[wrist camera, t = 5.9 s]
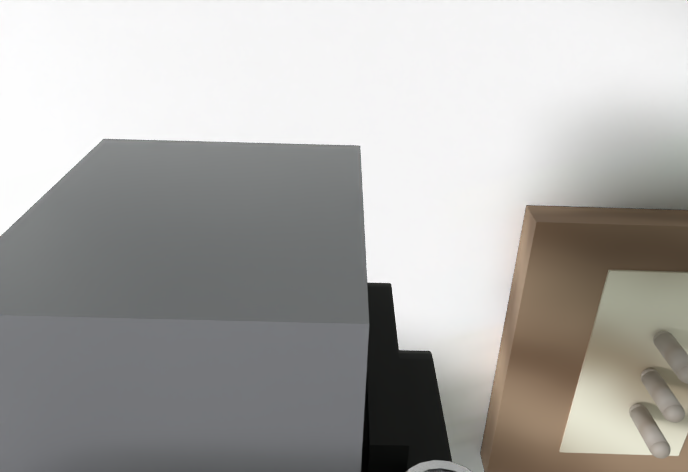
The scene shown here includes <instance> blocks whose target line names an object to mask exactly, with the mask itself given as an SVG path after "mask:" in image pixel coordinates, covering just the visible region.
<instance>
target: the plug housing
mask: <svg viewBox="0 0 688 472" xmlns="http://www.w3.org/2000/svg"><path fill="white" fill-rule="evenodd" d="M368 338H369V309H368V289H367V270H366V250H365V231H364V211H363V192H362V173H361V153H360V146H354V145H316V144H277V143H239V142H201V141H163V140H125V139H103V140H102V141H101V142H100V143H99V144H98V145H97V146H96V147H95V148H94V149H92V150H91V151H90V152H89V153H88V154H87V155H86V156H85V157H84V158H83V159H82V160H81V161H80V162H79V163H78V164H77V165H76V166H74V167H73V168H72V169H71V170H70V171H69V172H68V173H67V174H66V175H65V176H64V177H63V178H62V179H61V180H60V181H59V182H58V183H56V184H55V185H54V186H53V187H52V188H51V189H50V190H49V191H48V192H47V193H46V194H45V195H44V196H43V197H42V198H41V199H40V200H38V201H37V202H36V203H35V204H34V205H33V206H32V207H31V208H30V209H29V210H28V211H27V212H26V213H25V214H24V215H23V216H22V217H20V218H19V219H18V220H17V221H16V222H15V223H14V224H13V225H12V226H11V227H10V228H9V229H8V230H7V231H6V232H5V233H4V234H2V235H1V236H0V472H361V460H362V442H363V425H364V408H365V390H366V373H367V355H368Z"/></svg>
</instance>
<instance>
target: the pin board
mask: <svg viewBox="0 0 688 472" xmlns="http://www.w3.org/2000/svg"><path fill="white" fill-rule="evenodd" d="M480 455H481V459H482V463H483V467H484V472H688V210H662V209H629V208H596V207H562V206H529V205H526V210H525V216H524V221H523V226H522V232H521V237H520V243H519V248H518V253H517V259H516V264H515V269H514V275H513V280H512V286H511V291H510V296H509V302H508V307H507V312H506V318H505V323H504V329H503V334H502V339H501V345H500V350H499V355H498V361H497V366H496V372H495V377H494V382H493V388H492V393H491V398H490V404H489V409H488V415H487V420H486V425H485V431H484V436H483V442H482V447H481V452H480Z"/></svg>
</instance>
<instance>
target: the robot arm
mask: <svg viewBox="0 0 688 472" xmlns="http://www.w3.org/2000/svg"><path fill="white" fill-rule="evenodd" d="M367 289H368V309H369V338H368V355H367V373H366V390H365V408H364V425H363V442H362V460H361V472H472V471H471V470H469V469H468V468H466V467H464V466H462V465H459V464H456V463H453V462H452V459H451V454H450V448H449V443H448V438H447V432H446V427H445V422H444V416H443V411H442V406H441V400H440V395H439V390H438V384H437V379H436V373H435V368H434V363H433V358H432V354H431V352H430V351H403V350H399V349H398V340H397V331H396V323H395V314H394V305H393V296H392V287H391V283H367Z"/></svg>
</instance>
